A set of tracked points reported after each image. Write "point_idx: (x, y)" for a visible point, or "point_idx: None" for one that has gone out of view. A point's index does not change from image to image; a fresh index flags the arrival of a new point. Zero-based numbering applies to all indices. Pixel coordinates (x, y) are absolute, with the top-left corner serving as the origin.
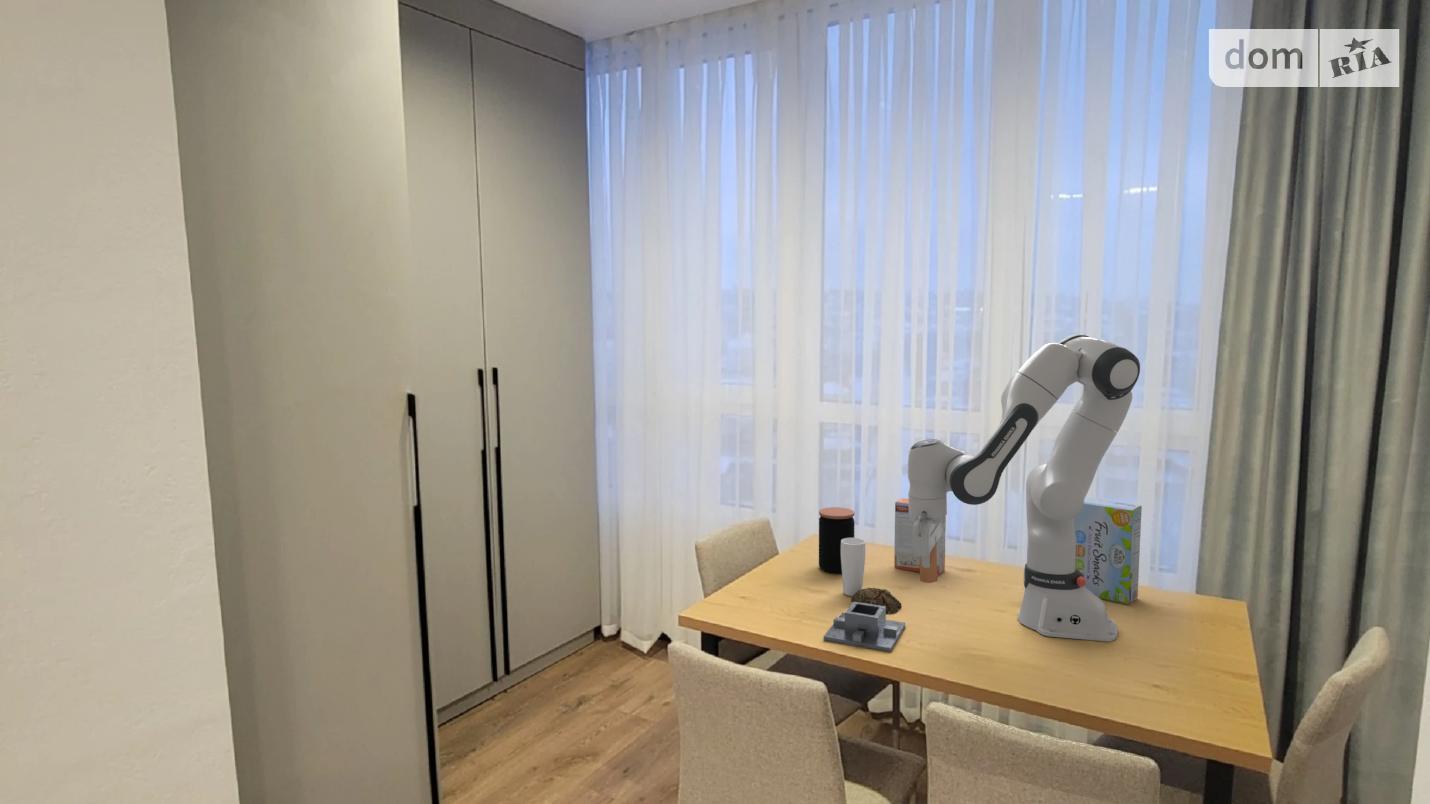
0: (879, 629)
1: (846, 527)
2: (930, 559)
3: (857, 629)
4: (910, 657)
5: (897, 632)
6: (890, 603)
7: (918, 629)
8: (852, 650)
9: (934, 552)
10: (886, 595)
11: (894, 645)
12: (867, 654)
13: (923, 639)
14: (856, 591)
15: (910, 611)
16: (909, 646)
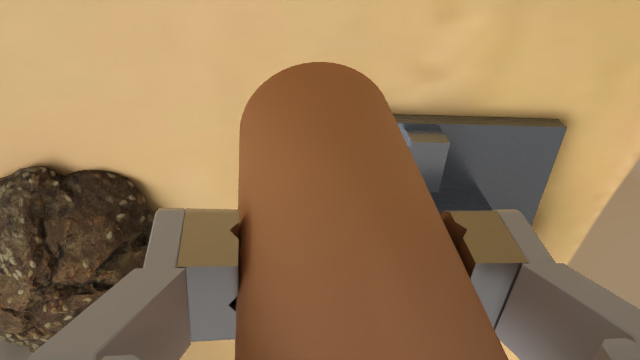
0: (457, 203)
1: None
2: (492, 261)
3: None
4: (600, 37)
5: (415, 131)
6: (105, 221)
7: (278, 48)
8: (553, 235)
9: (463, 294)
10: (52, 259)
11: (491, 117)
12: (582, 187)
13: (394, 8)
14: (20, 355)
15: (58, 118)
16: (487, 58)
